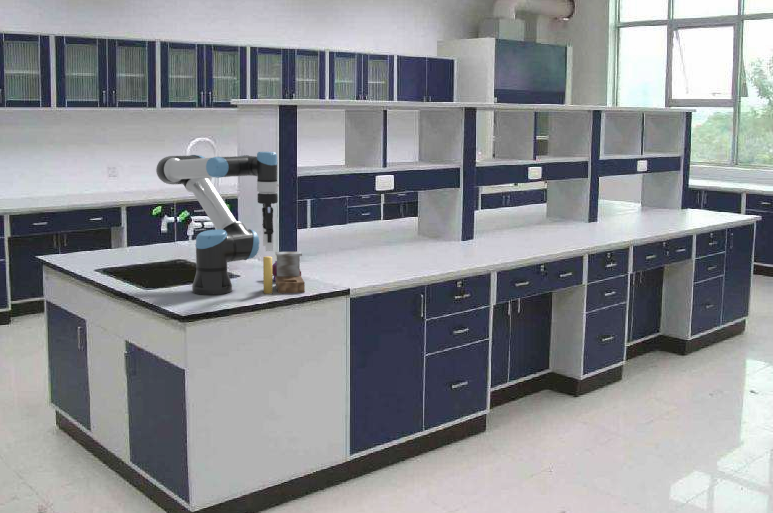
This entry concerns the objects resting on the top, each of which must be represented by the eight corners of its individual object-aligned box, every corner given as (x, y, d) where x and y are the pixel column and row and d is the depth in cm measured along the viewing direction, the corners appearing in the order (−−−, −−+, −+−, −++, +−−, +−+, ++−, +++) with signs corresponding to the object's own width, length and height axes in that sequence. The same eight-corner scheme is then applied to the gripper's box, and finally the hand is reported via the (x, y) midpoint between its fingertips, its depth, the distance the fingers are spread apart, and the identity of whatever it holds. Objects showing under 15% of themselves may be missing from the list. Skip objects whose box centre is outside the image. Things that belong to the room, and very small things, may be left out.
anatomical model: (301, 276, 357) (266, 270, 356) (304, 256, 353) (268, 250, 352) (298, 288, 346) (262, 283, 345) (302, 268, 342) (265, 262, 341)
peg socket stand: (278, 293, 324) (278, 257, 321) (275, 285, 337) (275, 251, 335) (304, 292, 326) (304, 257, 324) (300, 285, 339) (300, 251, 337)
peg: (263, 293, 322) (263, 257, 320) (263, 292, 325) (263, 256, 323) (272, 293, 323) (272, 257, 320) (272, 291, 326) (271, 256, 324)
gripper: (280, 195, 306) (280, 253, 310) (274, 189, 330) (275, 243, 334) (259, 195, 305) (260, 253, 308) (255, 189, 329) (256, 243, 332)
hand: (268, 248), depth 321 cm, fingers open, 13 cm apart
